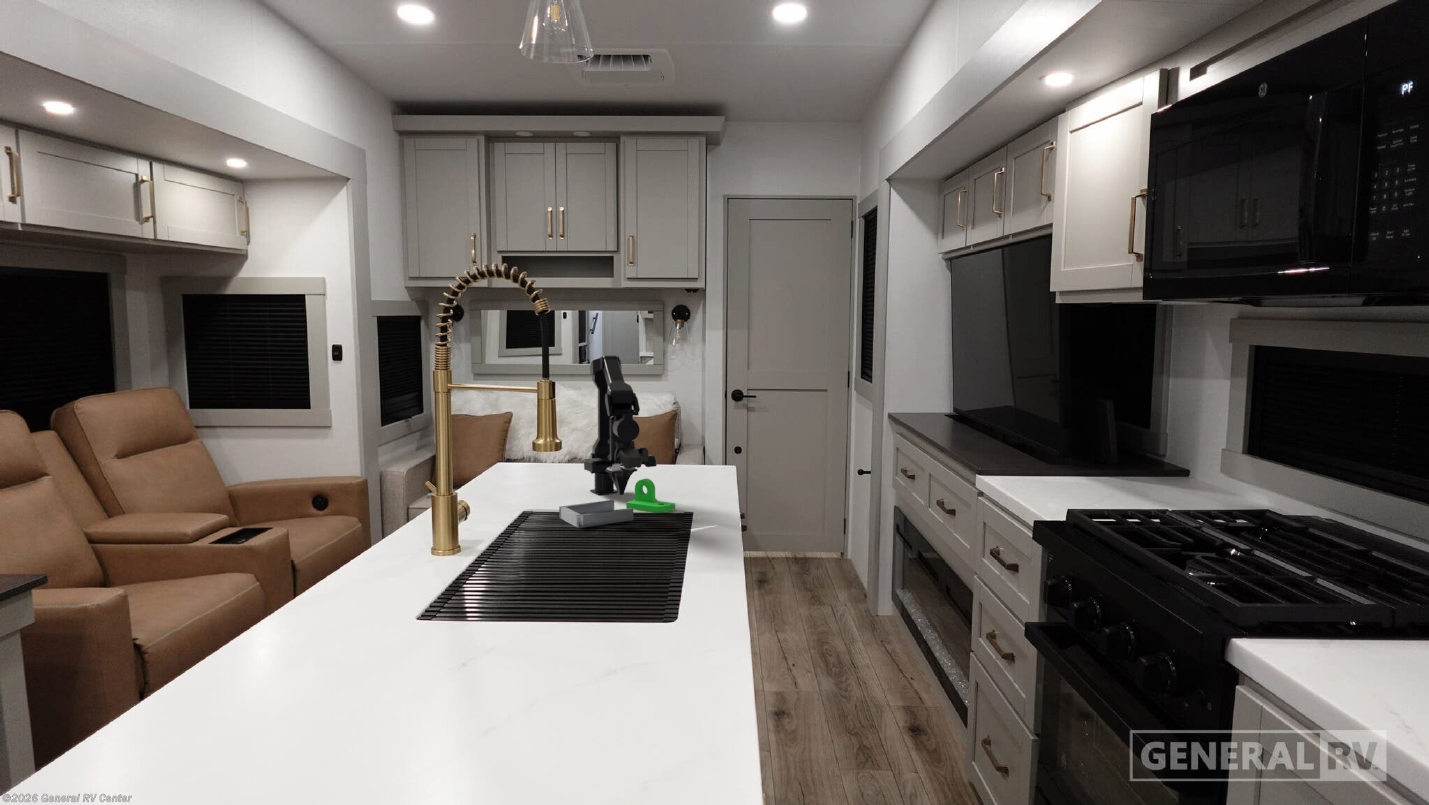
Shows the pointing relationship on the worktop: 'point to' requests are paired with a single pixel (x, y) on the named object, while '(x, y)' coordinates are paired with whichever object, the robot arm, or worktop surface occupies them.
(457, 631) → the worktop surface
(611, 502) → the seating bracket
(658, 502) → the mechanical part
